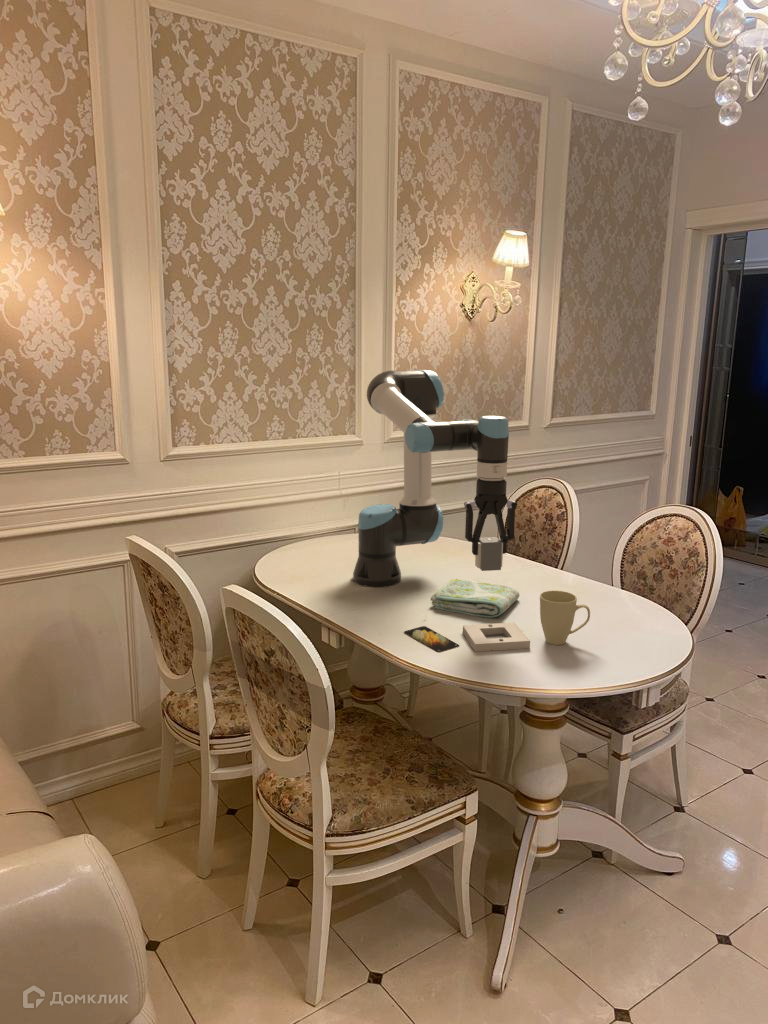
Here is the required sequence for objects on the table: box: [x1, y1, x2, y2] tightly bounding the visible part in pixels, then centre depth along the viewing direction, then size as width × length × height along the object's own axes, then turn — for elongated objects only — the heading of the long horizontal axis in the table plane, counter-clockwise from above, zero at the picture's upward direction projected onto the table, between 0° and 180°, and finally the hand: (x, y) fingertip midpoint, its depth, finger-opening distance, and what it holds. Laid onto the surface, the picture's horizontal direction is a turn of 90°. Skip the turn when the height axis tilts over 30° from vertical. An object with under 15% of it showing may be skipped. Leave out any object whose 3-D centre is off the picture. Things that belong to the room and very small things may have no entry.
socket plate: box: [462, 621, 531, 653], centre depth 189 cm, size 12×14×2 cm
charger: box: [479, 536, 502, 572], centre depth 192 cm, size 5×5×8 cm
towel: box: [430, 578, 520, 619], centre depth 214 cm, size 18×21×5 cm
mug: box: [539, 590, 591, 646], centre depth 187 cm, size 11×10×12 cm
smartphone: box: [403, 625, 460, 653], centre depth 190 cm, size 7×1×15 cm
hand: (488, 565), depth 193 cm, fingers closed on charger, 5 cm apart
